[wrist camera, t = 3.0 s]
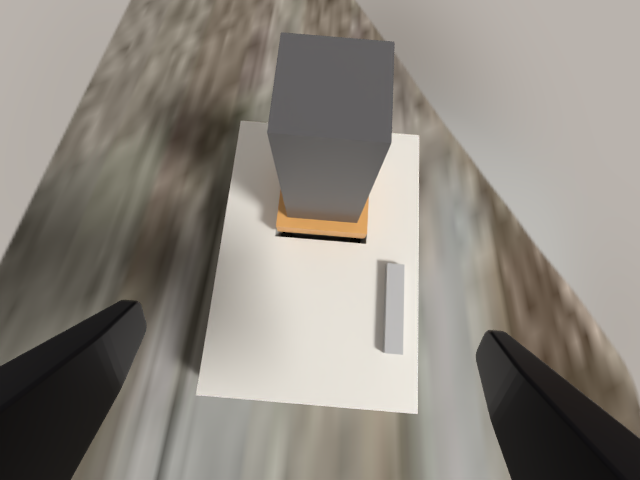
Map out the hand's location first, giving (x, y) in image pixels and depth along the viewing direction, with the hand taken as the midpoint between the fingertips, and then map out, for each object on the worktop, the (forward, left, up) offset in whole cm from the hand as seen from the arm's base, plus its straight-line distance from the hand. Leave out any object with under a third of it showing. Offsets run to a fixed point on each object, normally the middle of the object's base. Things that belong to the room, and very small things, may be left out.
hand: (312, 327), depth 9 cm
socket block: (+3, -2, -13) cm, 14 cm away
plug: (+7, -4, -13) cm, 16 cm away
